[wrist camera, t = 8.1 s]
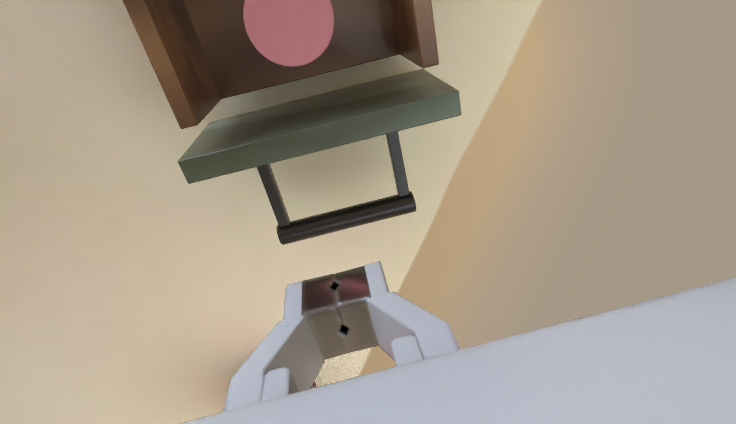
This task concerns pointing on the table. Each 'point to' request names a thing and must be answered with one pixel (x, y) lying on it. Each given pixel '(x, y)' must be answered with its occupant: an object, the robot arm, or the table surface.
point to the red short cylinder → (289, 29)
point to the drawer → (303, 117)
